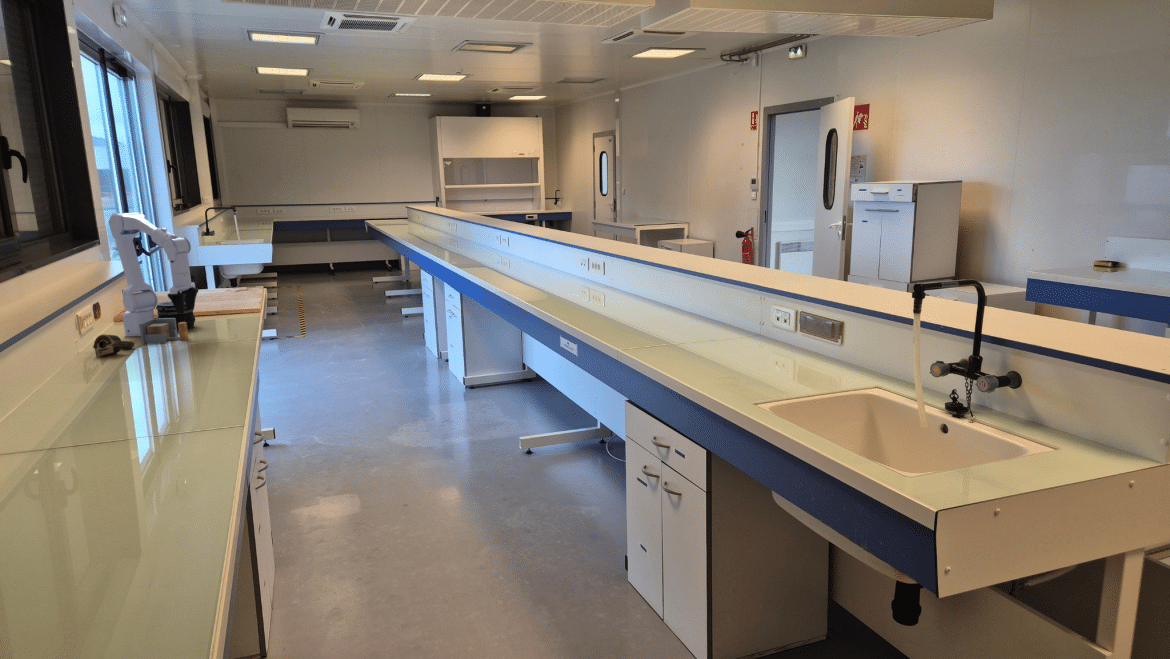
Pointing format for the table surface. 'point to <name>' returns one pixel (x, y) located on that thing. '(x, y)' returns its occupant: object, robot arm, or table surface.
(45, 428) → the table surface
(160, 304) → the container
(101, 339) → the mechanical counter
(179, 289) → the robot arm
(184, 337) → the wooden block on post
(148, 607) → the table surface
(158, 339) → the grey u-shaped cradle
